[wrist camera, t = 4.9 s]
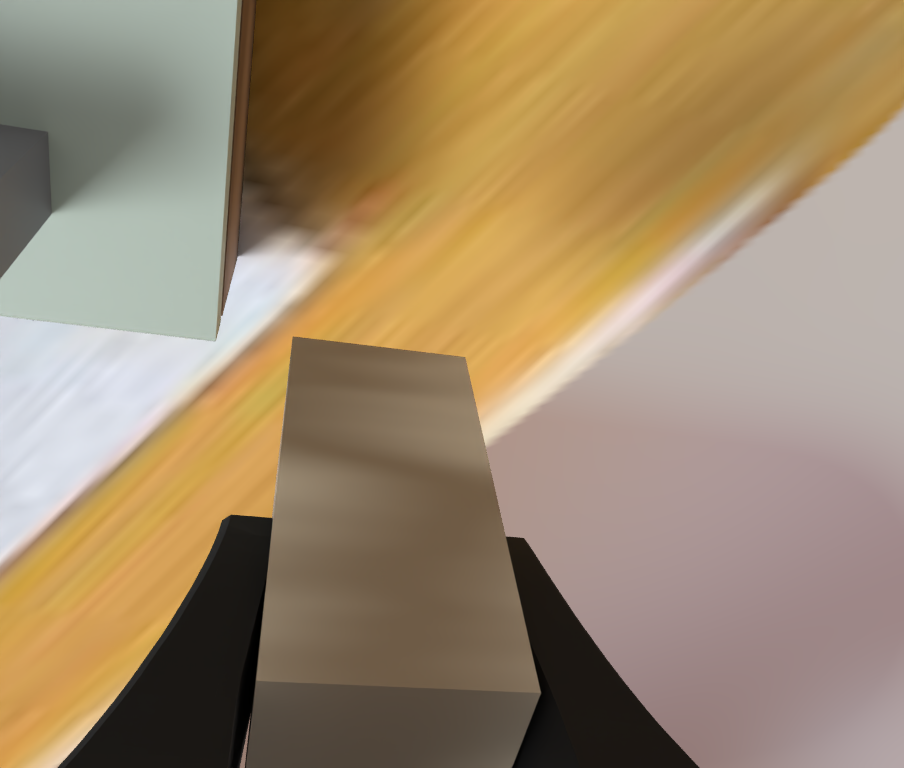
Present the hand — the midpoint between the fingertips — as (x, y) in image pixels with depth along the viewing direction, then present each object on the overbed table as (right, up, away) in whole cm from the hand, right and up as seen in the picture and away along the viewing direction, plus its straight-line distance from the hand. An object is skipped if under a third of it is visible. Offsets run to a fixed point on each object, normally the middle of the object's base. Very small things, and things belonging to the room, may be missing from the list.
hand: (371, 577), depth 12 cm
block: (0, +2, +3) cm, 4 cm away
